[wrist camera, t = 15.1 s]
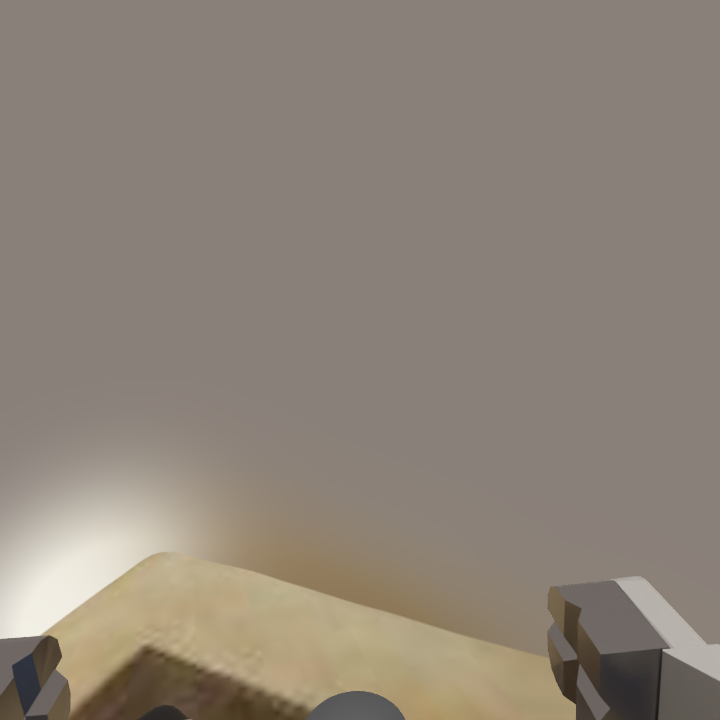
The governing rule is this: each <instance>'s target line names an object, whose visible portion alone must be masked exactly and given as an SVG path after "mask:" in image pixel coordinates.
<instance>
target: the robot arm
mask: <svg viewBox="0 0 720 720" xmlns="http://www.w3.org/2000/svg"><path fill="white" fill-rule="evenodd" d="M548 610H549V611H550V613H551V615H552V617H553V618H554V620H555V622H554V623H553V625H552V626H551V627H550V629H549V630H548V633H547V636H548V652H549V658H550V663H551V668H552V671H553V673H554V676H555V679H556V682H557V684H558V686H559V688H560V690H561V692H562V694H563V696H565V697H566V698H568V699H569V700H570V701H572V702H573V703H575V704H576V720H720V645H718V644H712V645H707V644H706V643H705V642H704V641H703V640H702V639H701V637H700V636H699V635H698V634H697V633H696V632H695V631H694V630H693V629H692V628H691V627H690V626H689V625H688V624H687V623H686V622H685V620H683V618H682V617H681V616H680V615H678V613H677V612H676V611H675V610H674V609H673V608H672V607H671V606H670V605H669V604H668V603H667V602H666V600H665V599H664V598H663V597H662V596H661V595H660V594H659V593H658V592H657V591H656V590H655V589H654V588H653V587H652V586H651V585H650V584H649V582H648V581H647V580H646V579H644V578H642V577H640V576H633V577H625V578H617V579H609V580H608V581H601V582H591V583H582V584H572V585H562V586H553V587H550V589H549V593H548ZM61 658H62V654H61V650H60V647H59V643H58V640H57V639H56V638H54V637H52V636H50V635H49V636H35V637H22V638H8V639H0V720H68V717H69V713H70V689H69V684H68V680H67V679H66V678H65V677H63V676H62V675H61V674H60V673H59V672H58V671H57V670H56V667H57V665H58V663H59V662H60V660H61Z"/></svg>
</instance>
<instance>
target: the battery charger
mask: <svg viewBox="0 0 720 720" xmlns="http://www.w3.org/2000/svg"><path fill="white" fill-rule="evenodd" d="M138 720H190V719H188V718H187V717H186V716H185V715H184V714H183V713H182V712H181V711H180V710H179V709H177V708H175V707H174V706H169V705H162V706H159V707H155V708H154V709H152V710H151V711H149V712H147V713H146V714H144V715H143V716H142V717H140V718H139V719H138Z"/></svg>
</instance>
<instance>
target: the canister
mask: <svg viewBox="0 0 720 720" xmlns="http://www.w3.org/2000/svg"><path fill="white" fill-rule="evenodd" d="M306 720H405V718H404V716H403V715H402V713H401V712H400V710H399V709H398V708H397V707H396V706H395V705H394V704H393V703H392V702H390V701H389V700H387V699H386V698H384V697H382V696H380V695H377V694H374V693H370V692H364V691H351V692H345V693H341V694H338V695H335V696H332V697H331V698H329V699H327V700H325V701H324V702H322V703H321V704H319V705H318V706H317V707H316V708H315V709H314V710H313V711H312V712H311V713H310V714H309V716H308V717H307V719H306Z"/></svg>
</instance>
